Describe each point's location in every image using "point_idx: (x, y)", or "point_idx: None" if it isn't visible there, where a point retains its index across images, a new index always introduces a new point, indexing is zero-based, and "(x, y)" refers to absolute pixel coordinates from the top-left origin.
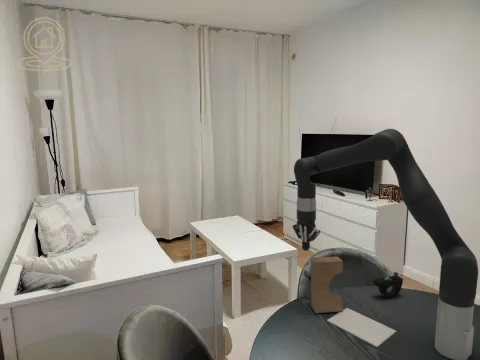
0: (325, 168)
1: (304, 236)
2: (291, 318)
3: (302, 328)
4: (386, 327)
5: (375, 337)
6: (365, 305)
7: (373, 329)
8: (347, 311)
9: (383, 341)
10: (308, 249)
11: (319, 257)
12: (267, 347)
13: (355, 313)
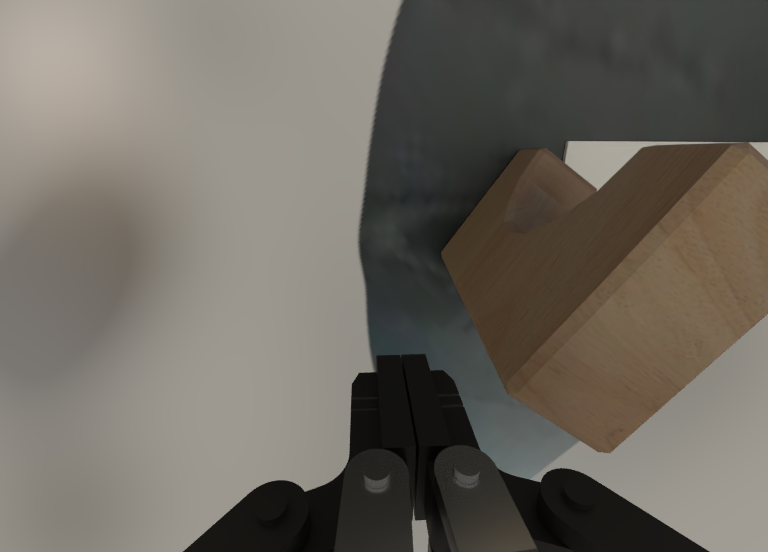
0: None
1: (352, 542)
2: (432, 364)
3: (496, 376)
4: (758, 150)
5: None
6: (628, 30)
7: None
8: (582, 167)
9: None
10: (423, 360)
11: (577, 333)
12: None
13: (618, 154)
